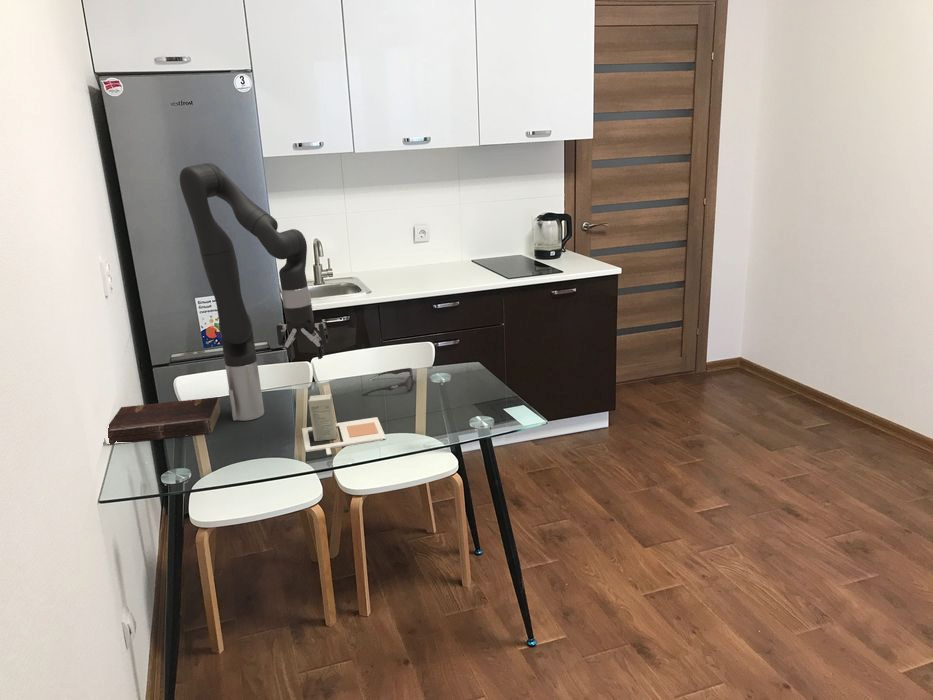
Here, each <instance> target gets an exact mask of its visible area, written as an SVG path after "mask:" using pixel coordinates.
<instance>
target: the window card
mask: <svg viewBox="0 0 933 700" xmlns="http://www.w3.org/2000/svg"><path fill="white" fill-rule="evenodd" d="M336 428H339V431H340V434H341V438H342V441H337V442H333V443H331V442H330V443H325V444H319V445H313V446H311V443H310V442H311V441H310V436H309V432H313V429H312V426H309V427H308V426H307V427H302V428H301V431H302V439H303V446H304V450H305V451H304V452H305V453H309V452H315V451H323V450H325V452H326V455H327V456H330V455H332V450H331V449H335V448H340V447H341V448H342V447H349V446H353V445H354V446H355V445H359V444H360V445H361V444H366V443H367V444H368V443H373V442H379V441H378V440H380V441H382V440H381V439H384V438H385V437H386V434H385V432H384V430H383V427H382V424H381V423H380V421H379V418H378V416H377V417H370V418H362V419H355V420H349V421H343V422H336Z"/></svg>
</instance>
